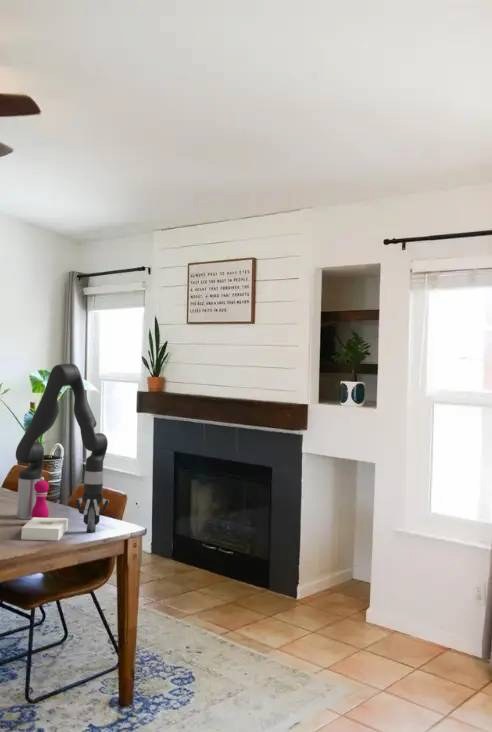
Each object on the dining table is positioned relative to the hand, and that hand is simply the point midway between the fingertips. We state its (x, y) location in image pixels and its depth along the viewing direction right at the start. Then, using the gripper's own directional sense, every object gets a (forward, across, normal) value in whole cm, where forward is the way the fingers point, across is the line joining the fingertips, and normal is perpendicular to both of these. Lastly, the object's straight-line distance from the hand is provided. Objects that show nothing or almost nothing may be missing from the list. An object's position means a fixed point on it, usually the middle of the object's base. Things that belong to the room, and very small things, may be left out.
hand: (91, 523), depth 294 cm
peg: (+3, 0, 0) cm, 3 cm away
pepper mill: (+3, +23, -11) cm, 26 cm away
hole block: (+3, +17, +7) cm, 19 cm away
